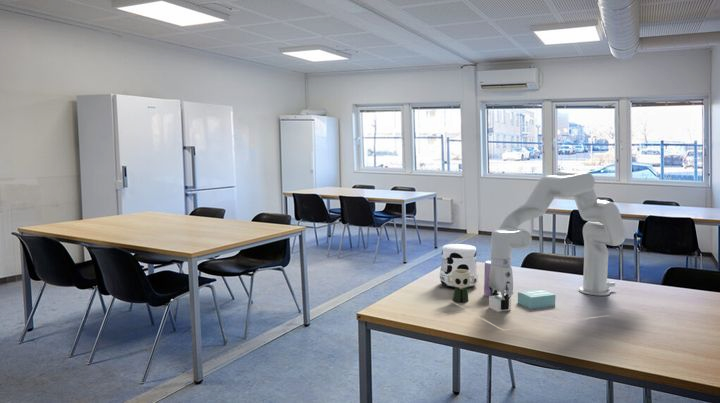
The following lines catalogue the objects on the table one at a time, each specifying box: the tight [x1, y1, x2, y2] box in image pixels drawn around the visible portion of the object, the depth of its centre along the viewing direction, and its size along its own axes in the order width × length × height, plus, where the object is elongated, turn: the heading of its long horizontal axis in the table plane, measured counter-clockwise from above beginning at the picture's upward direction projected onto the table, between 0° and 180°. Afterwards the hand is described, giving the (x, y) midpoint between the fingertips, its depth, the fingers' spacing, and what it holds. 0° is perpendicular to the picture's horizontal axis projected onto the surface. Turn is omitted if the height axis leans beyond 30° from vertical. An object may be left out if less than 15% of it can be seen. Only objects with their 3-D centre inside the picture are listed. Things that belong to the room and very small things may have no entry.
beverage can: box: [483, 260, 499, 298], centre depth 228 cm, size 6×6×15 cm
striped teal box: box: [517, 288, 556, 309], centre depth 216 cm, size 12×8×5 cm, turn 109°
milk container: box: [439, 243, 479, 289], centre depth 246 cm, size 17×17×18 cm
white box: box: [488, 294, 512, 313], centre depth 211 cm, size 6×6×5 cm
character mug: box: [448, 269, 474, 303], centre depth 221 cm, size 11×7×13 cm, turn 86°
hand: (499, 306), depth 211 cm, fingers closed on white box, 6 cm apart
